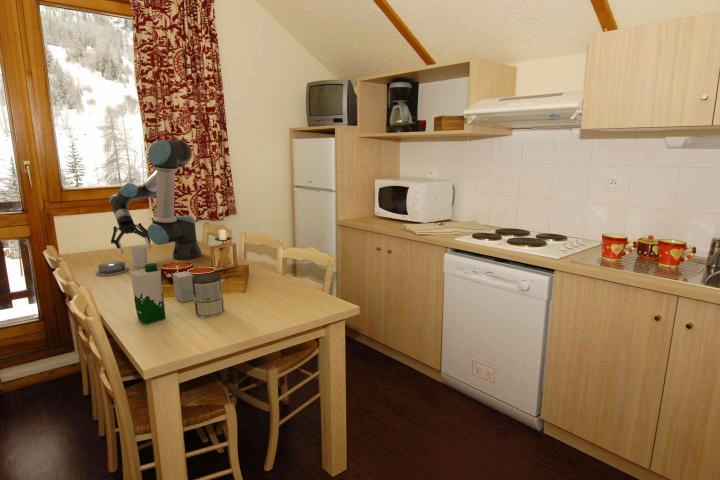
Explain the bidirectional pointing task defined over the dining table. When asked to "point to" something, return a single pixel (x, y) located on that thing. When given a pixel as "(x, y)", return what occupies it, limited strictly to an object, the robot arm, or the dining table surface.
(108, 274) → the grey round shallow piece
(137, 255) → the white cup
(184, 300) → the small box
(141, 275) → the milk carton
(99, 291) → the dining table surface
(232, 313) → the dining table surface
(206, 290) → the coffee can
